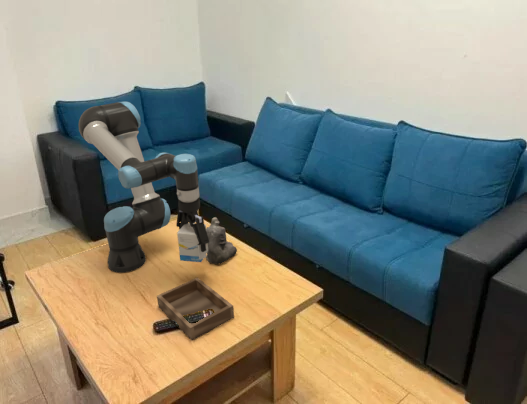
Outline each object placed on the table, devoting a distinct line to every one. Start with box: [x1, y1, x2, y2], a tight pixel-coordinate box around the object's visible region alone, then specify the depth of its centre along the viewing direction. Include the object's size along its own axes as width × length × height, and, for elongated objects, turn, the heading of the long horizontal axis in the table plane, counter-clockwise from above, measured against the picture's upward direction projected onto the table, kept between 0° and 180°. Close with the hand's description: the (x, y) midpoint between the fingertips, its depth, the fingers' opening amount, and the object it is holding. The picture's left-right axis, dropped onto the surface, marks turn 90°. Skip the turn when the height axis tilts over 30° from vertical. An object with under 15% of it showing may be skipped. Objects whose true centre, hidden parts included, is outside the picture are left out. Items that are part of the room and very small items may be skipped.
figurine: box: [205, 216, 238, 265], centre depth 176 cm, size 13×12×18 cm
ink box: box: [176, 222, 208, 263], centre depth 159 cm, size 9×8×12 cm
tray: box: [156, 277, 235, 342], centre depth 147 cm, size 22×16×5 cm
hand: (194, 251), depth 161 cm, fingers closed on ink box, 11 cm apart
